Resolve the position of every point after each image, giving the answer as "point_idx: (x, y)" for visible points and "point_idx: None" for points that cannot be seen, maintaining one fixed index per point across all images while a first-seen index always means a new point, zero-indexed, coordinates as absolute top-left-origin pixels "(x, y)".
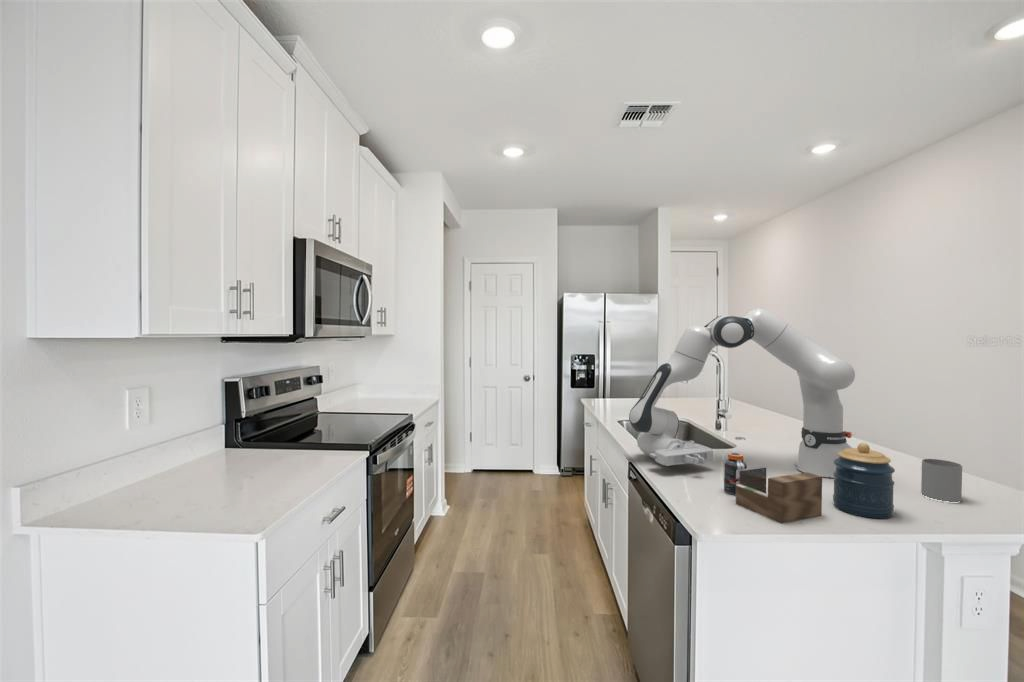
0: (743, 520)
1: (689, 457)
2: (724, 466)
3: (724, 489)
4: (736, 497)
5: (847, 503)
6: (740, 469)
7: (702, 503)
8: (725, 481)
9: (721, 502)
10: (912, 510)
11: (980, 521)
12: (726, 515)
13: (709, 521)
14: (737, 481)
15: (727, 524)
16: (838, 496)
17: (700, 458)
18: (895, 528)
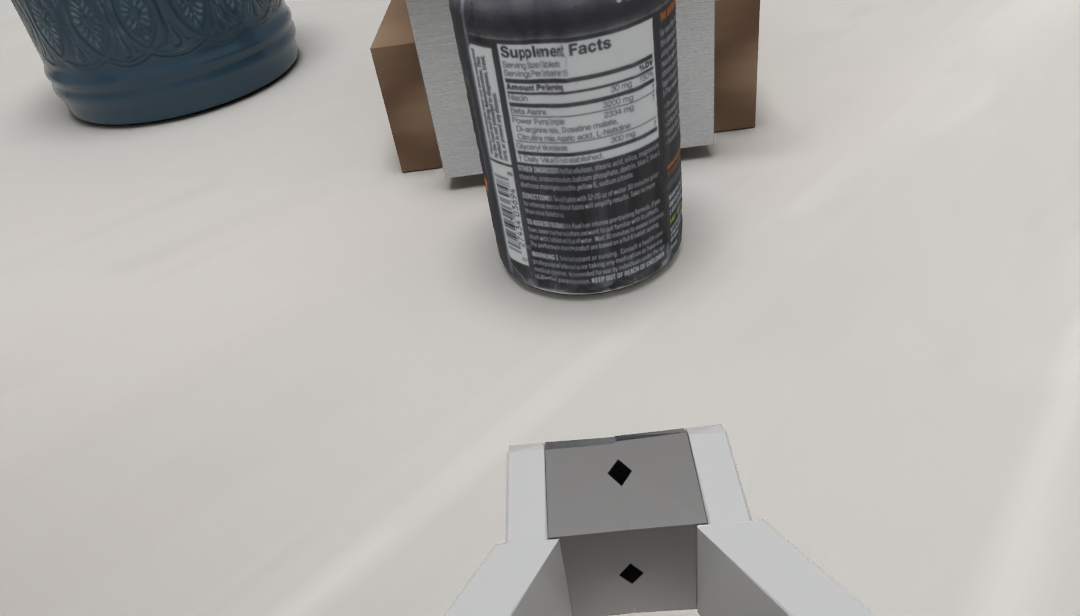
0: (858, 27)
1: (840, 593)
2: (656, 31)
3: (676, 241)
4: (755, 81)
5: (285, 15)
6: None
7: (1018, 138)
8: (680, 154)
9: (848, 143)
10: (31, 75)
11: (2, 36)
12: (924, 51)
13: (1068, 19)
14: (711, 1)
15: (974, 7)
16: (257, 16)
17: (597, 451)
18: (313, 10)
